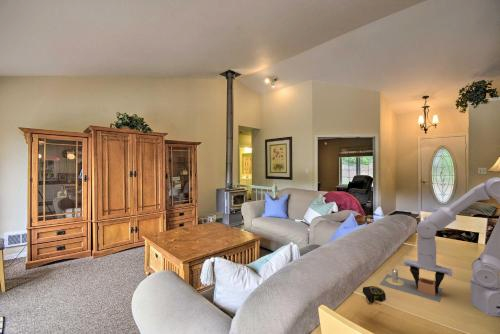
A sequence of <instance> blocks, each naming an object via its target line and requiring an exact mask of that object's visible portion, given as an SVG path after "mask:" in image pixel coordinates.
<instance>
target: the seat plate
mask: <svg viewBox="0 0 500 334" xmlns="http://www.w3.org/2000/svg"><path fill="white" fill-rule="evenodd" d="M379 285H380V286H383V287H385V288H386V287H387V288H389V289H393V290H397V291H399V292H404V293H407V294H410V295H413V296H414V295H415V296H416V297H417V296H418V297H421V298H423V299H424V298H425V299H428V300H431V301H435V302H437V303H441V301H442V294H443V290H444V288H442V287H439V288H438V293H436V294H435V296H433V295H429V294H426V293H422V292H419V291H418V288H417V286H416V282H415V280H411V279H408V278H405V277H404V278H403V277H401V276H398V283H394V282H392V274H386V275H385V276H384V278H383V279H382V280H381V282H380V283H379Z"/></svg>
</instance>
